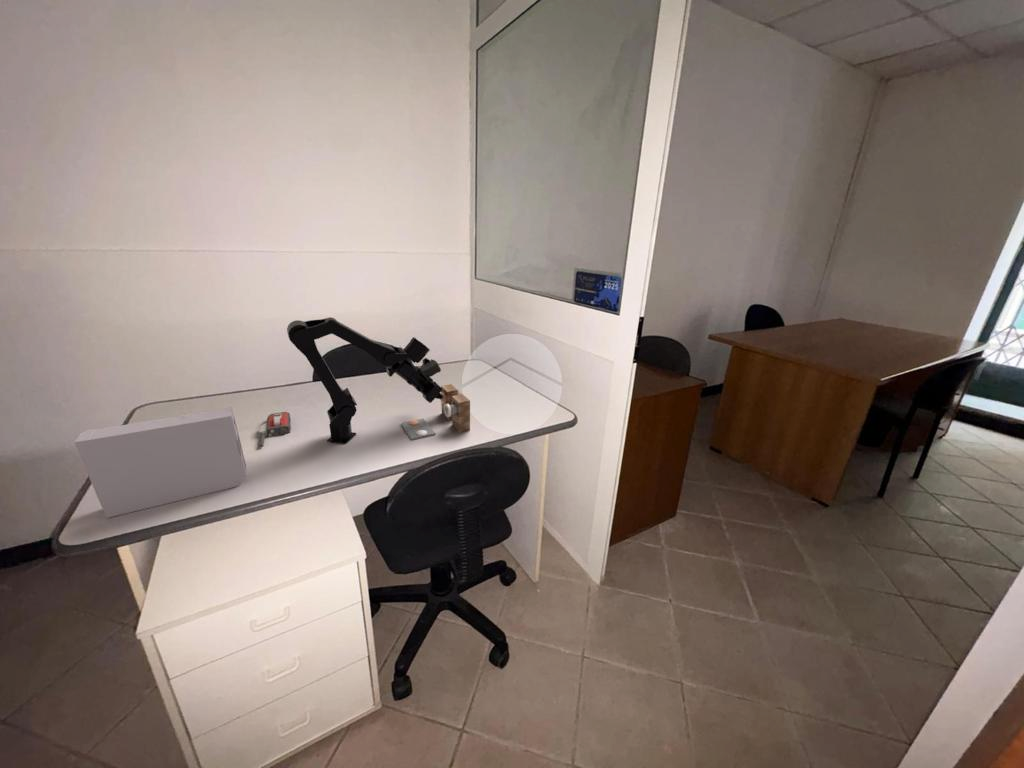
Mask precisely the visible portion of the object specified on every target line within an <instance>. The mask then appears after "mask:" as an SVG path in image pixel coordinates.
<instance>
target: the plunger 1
mask: <svg viewBox="0 0 1024 768" xmlns="http://www.w3.org/2000/svg"><path fill="white" fill-rule="evenodd" d="M440 394H441V395H442V396H443V398H442V399H439V400H440V403H442V404H446V402H447V398H446V394H445V393H444V392H440ZM460 394H462V393H461V391H460V390H458V395H460Z"/></svg>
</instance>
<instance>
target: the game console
mask: <svg viewBox="0 0 1024 768" xmlns="http://www.w3.org/2000/svg"><path fill="white" fill-rule="evenodd" d="M233 409H234V408H233V407H232V406H231V407H226V408H220V409H214V410H207V411H206V410H205V411H200V412H192V413H186V414H184V415H179V416H173V417H172V416H170V417H166V418H160V419H153V420H148V421H147V420H146V421H140V422H134V423H128V424H127V423H126V424H122V425H115V426H109V427H104V428H98V429H97V428H92V429H87V430H85V431H83V432H80V434H79V435H78V437H77V438H76V439H75V441H74V444H75V447H76V449H77V452H78V455H79V456H80V459H81V461H82V463H83V466H84V468H85V470H86V473H87V475H88V478H89V480H90V482H91V485H92V488H93V490H94V493H95V494H96V498H97V500H98V502H99V505H100V506H101V508H102V511H103V514H104V515H105V518H106V519H109V518H112V517H118V516H120V515H125V514H126V515H127V514H128V513H135V512H137V511H142V510H145V509H150V508H154V507H157V506H163V505H166V504H170V503H174V502H178V501H179V502H180V501H183V500H187V499H192V498H196V497H198V496H204V495H207V494H212V493H215V492H218V491H219V492H220V491H224V490H227V489H232V488H236V487H239V486H240V485H241V483H243V481H244V480H245V478H246V477H247V462H246V459H245V455H244V450H243V447H242V443H241V438H240V434H239V430H238V427H237V426H238V425H237V421H236V418H235V414H234V410H233Z"/></svg>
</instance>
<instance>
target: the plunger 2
mask: <svg viewBox="0 0 1024 768" xmlns="http://www.w3.org/2000/svg"><path fill="white" fill-rule="evenodd" d="M444 412H445V415H446V416H447V417H450V416H451V415H452V414H456V413H458V406H457V405H456V404H453V405H449V404H445V405H444Z"/></svg>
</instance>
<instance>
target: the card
mask: <svg viewBox="0 0 1024 768" xmlns="http://www.w3.org/2000/svg"><path fill="white" fill-rule="evenodd" d="M400 426H402V428H403V430H404V431H405V432H406V434H407V436H408V437H409V438H410V440H411V441H414V440H418V439H419V440H420V439H422V438H427V437H431V436H436V432H435V431H434V430H433V429H432V427H431V426H430V424H429V423H427V421H426V420H425V419H424V418H418V419H411V420H408V421H404V422H401V423H400Z"/></svg>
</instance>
